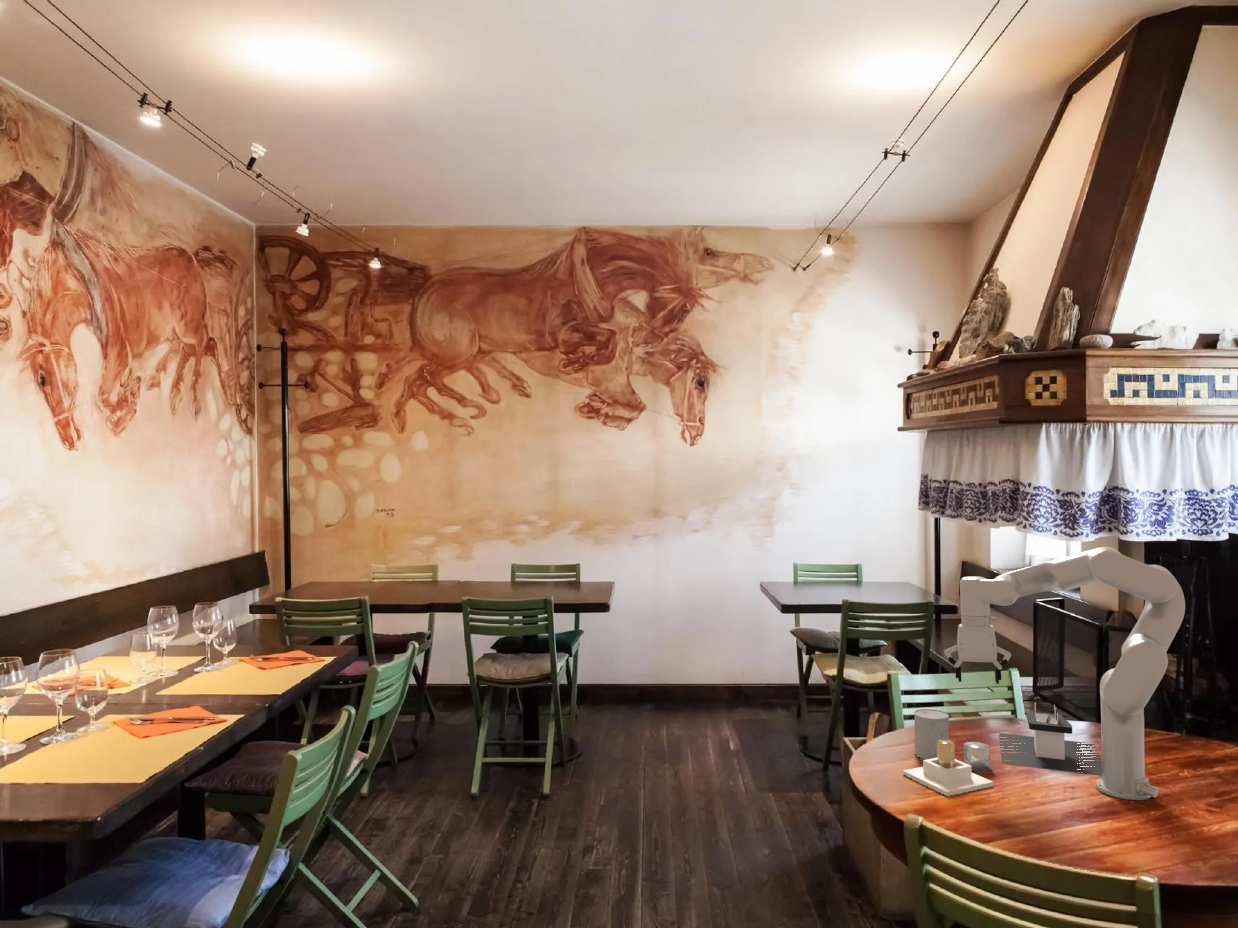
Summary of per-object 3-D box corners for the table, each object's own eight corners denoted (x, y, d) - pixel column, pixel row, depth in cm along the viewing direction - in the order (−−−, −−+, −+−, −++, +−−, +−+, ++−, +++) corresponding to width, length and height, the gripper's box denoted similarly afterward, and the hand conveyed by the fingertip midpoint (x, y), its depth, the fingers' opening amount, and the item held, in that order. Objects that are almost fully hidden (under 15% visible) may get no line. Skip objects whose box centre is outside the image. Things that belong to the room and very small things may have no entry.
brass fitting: (958, 776, 217) (958, 743, 217) (946, 779, 215) (945, 745, 216) (946, 771, 221) (945, 738, 221) (933, 773, 220) (933, 740, 220)
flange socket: (993, 786, 214) (993, 768, 214) (947, 796, 208) (946, 778, 208) (947, 765, 228) (947, 749, 229) (903, 774, 222) (902, 757, 222)
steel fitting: (995, 769, 226) (995, 747, 226) (977, 773, 223) (977, 751, 223) (976, 761, 232) (976, 740, 232) (958, 764, 229) (958, 743, 229)
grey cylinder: (943, 750, 241) (943, 709, 241) (953, 762, 231) (953, 719, 231) (910, 749, 242) (910, 708, 242) (919, 761, 232) (919, 718, 232)
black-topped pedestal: (1108, 776, 220) (1107, 727, 220) (1001, 763, 230) (1001, 716, 230) (1093, 743, 245) (1093, 699, 245) (998, 733, 256) (998, 691, 256)
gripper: (1008, 619, 227) (1010, 679, 227) (942, 617, 233) (944, 676, 233) (1011, 624, 220) (1013, 686, 220) (943, 622, 226) (945, 683, 226)
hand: (978, 681), depth 227 cm, fingers open, 9 cm apart
